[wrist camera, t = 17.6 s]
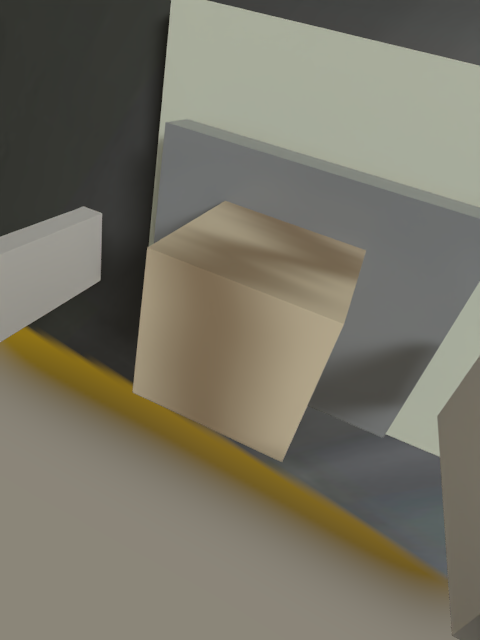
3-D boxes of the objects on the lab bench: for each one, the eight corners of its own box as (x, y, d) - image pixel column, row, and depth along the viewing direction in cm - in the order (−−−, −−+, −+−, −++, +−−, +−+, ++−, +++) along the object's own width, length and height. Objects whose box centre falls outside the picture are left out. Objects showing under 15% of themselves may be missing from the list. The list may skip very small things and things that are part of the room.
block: (366, 250, 13) (344, 324, 9) (316, 366, 16) (281, 462, 12) (225, 200, 14) (147, 247, 10) (201, 318, 17) (132, 392, 13)
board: (826, 152, 11) (867, 158, 10) (518, 470, 19) (523, 492, 18) (188, -2, 14) (171, -8, 13) (153, 320, 22) (140, 330, 21)
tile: (512, 228, 11) (165, 122, 13) (383, 437, 16) (144, 336, 18) (499, 211, 13) (192, 118, 15) (386, 406, 18) (166, 316, 20)
